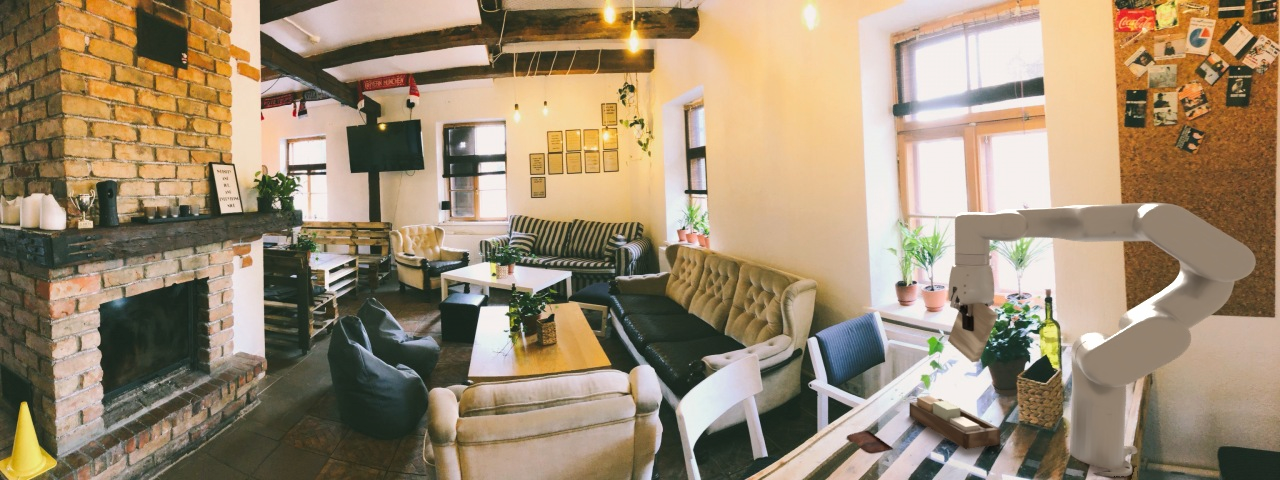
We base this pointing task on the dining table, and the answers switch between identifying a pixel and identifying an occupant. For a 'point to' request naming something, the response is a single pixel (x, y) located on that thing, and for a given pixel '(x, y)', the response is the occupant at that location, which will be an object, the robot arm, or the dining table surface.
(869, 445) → the wooden tablet
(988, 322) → the light wooden board
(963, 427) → the offcut
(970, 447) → the brown wooden tray
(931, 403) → the offcut
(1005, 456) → the dining table surface
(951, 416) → the block
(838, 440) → the dining table surface
